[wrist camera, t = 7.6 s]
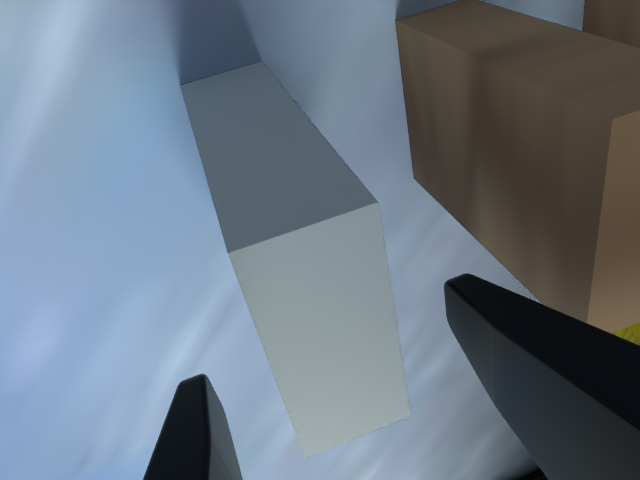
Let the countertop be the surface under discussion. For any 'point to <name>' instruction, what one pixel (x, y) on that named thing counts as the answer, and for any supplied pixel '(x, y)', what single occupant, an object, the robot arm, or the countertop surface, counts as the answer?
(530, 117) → the brown rectangular block
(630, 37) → the brown rectangular block
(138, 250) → the countertop surface
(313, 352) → the block
